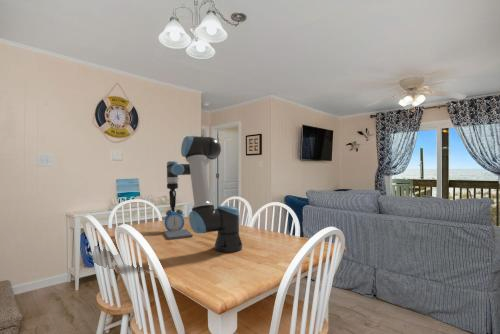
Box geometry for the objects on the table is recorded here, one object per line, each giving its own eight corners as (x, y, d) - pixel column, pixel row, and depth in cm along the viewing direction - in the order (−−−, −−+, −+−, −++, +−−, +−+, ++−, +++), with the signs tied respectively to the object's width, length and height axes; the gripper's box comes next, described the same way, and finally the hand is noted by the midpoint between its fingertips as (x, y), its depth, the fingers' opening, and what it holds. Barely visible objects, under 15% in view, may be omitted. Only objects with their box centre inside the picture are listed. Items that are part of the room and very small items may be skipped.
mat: (192, 236, 176) (192, 234, 176) (168, 239, 170) (168, 236, 170) (186, 231, 191) (186, 228, 191) (164, 234, 184) (164, 231, 184)
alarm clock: (164, 233, 186) (164, 211, 186) (164, 231, 192) (164, 209, 192) (184, 231, 190) (184, 210, 190) (183, 229, 196) (183, 208, 196)
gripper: (179, 183, 192) (179, 217, 193) (176, 182, 204) (176, 214, 204) (168, 183, 189) (168, 218, 189) (165, 182, 201) (165, 215, 201)
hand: (172, 216), depth 197 cm, fingers closed
